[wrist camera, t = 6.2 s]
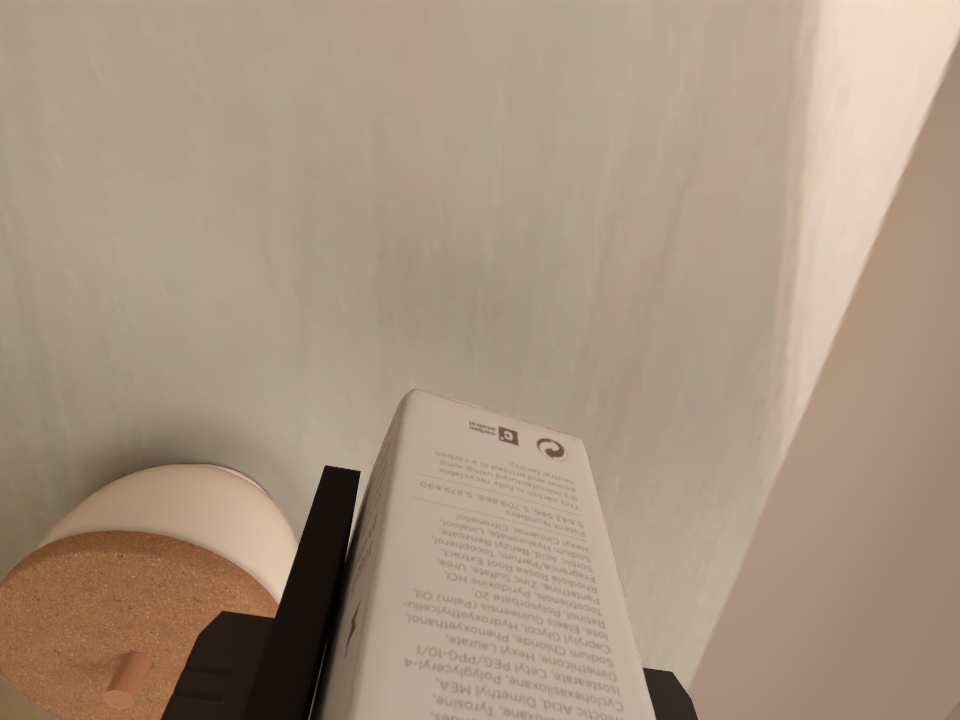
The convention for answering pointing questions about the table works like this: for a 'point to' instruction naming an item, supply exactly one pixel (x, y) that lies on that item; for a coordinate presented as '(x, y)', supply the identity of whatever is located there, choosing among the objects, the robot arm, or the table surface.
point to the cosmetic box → (479, 580)
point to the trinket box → (139, 588)
